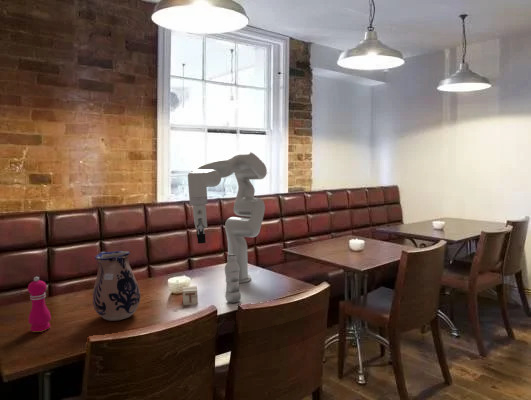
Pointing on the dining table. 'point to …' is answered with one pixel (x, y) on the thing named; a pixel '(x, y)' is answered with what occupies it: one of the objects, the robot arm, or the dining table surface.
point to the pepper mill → (38, 306)
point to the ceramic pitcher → (115, 287)
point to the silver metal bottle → (232, 280)
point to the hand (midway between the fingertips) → (201, 240)
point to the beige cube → (190, 295)
